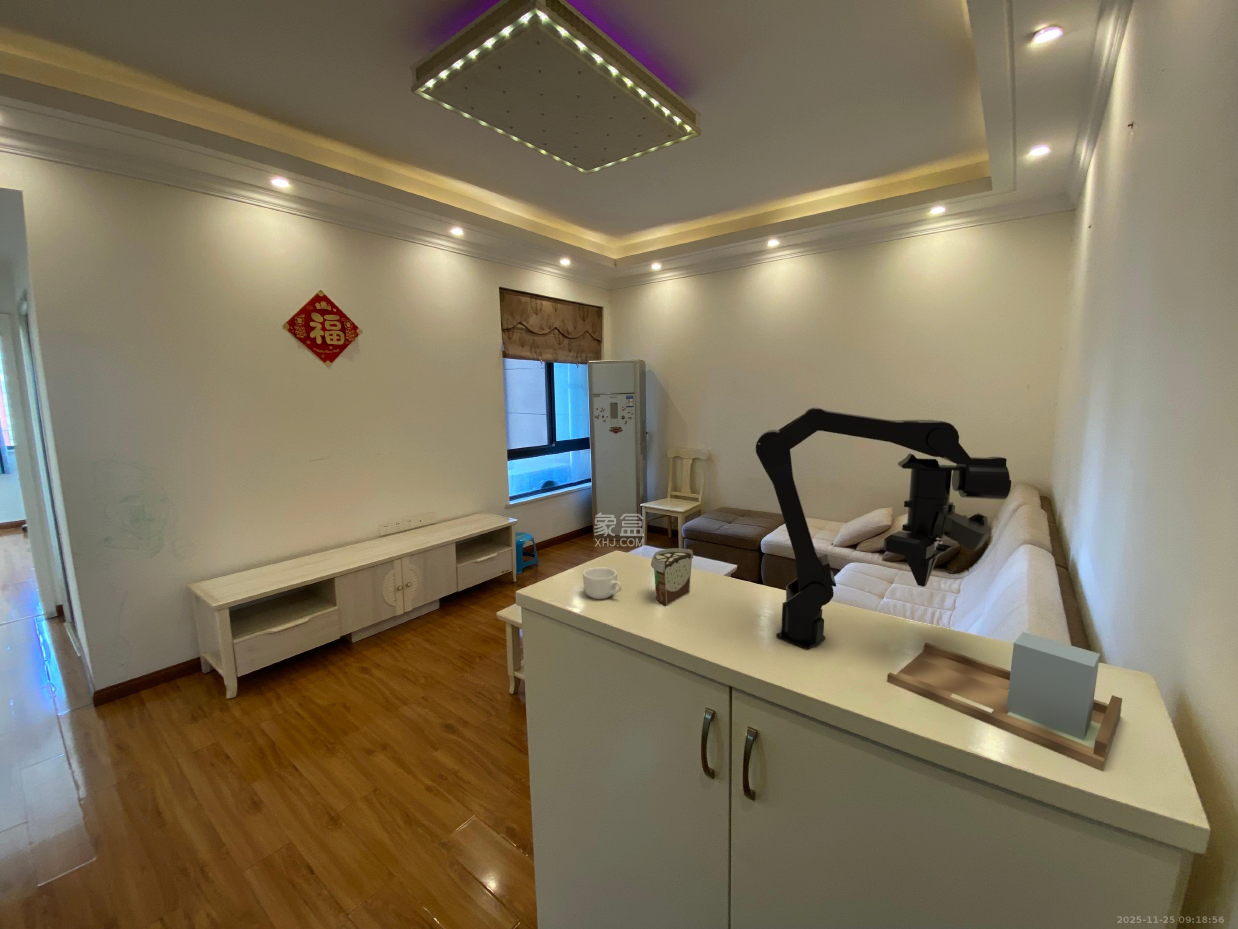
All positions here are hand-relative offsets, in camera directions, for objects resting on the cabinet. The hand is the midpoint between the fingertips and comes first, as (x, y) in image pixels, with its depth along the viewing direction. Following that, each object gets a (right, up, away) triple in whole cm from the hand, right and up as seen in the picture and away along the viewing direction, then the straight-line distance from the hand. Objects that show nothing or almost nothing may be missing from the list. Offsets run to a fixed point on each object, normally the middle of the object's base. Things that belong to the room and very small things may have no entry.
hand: (921, 585), depth 85 cm
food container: (-41, -9, +27) cm, 50 cm away
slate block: (+7, -14, -17) cm, 23 cm away
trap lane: (+3, -14, -12) cm, 19 cm away
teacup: (-55, -9, +27) cm, 62 cm away
